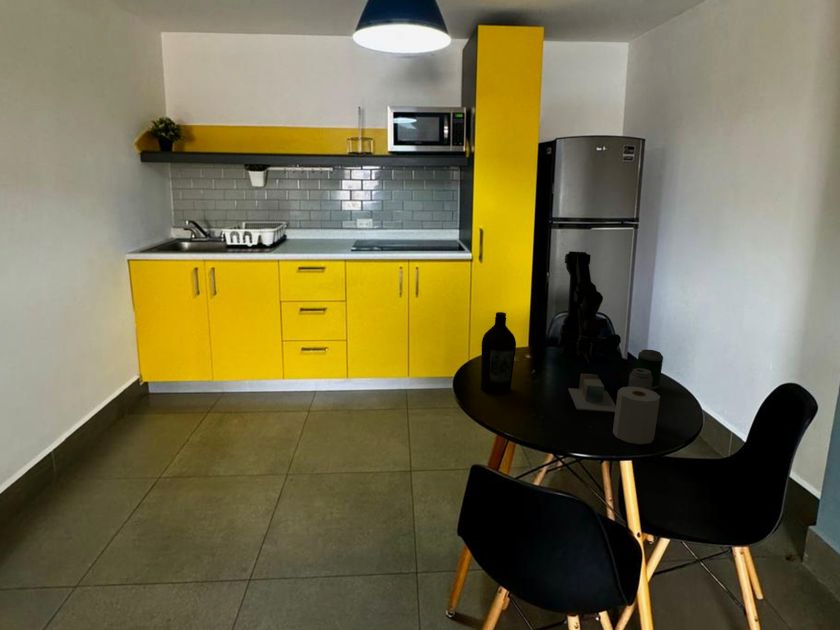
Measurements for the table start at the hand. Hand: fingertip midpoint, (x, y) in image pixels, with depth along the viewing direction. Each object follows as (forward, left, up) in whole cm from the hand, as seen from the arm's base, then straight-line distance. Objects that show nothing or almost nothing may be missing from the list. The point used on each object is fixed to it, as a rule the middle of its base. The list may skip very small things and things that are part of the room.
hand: (590, 364), depth 181 cm
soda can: (-16, +14, -9) cm, 23 cm away
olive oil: (+18, -24, -9) cm, 31 cm away
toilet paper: (+24, +20, -9) cm, 33 cm away
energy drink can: (+14, +18, -9) cm, 25 cm away
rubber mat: (+7, +4, -9) cm, 12 cm away
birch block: (-1, 0, -6) cm, 6 cm away
